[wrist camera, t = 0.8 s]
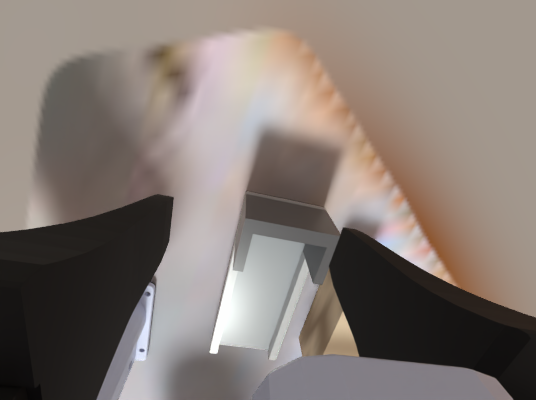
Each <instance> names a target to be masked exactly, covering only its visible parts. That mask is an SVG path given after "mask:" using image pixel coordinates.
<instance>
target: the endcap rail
mask: <svg viewBox="0 0 536 400" xmlns="http://www.w3.org/2000/svg"><path fill="white" fill-rule="evenodd" d="M340 235H341V234H340V233H339V231H338V229H337V228H336V226H335V224H334V223H333V221H332V219H331V218H330V216H329V214H328V213H327V211H326V209H325V208H324V207H321V206H316V205H312V204H307V203H302V202H297V201H292V200H288V199H283V198H278V197H273V196H268V195H264V194H259V193H254V192H249V191H246V194H245V198H244V202H243V207H242V211H241V215H240V219H239V224H238V228H237V232H236V237H235V241H234V245H233V249H232V254H231V258H230V262H229V266H228V271H227V275H226V279H225V283H224V288H223V292H222V296H221V301H220V305H219V309H218V313H217V318H216V322H215V326H214V330H213V335H212V339H211V346H210V353H214V354H217V352H218V348H219V345H227V346H236V347H244V348H253V349H261V350H268V359H269V360H276V358H277V355H278V353H279V350H280V347H281V345H282V342H283V339H284V337H285V334H286V331H287V328H288V326H289V323H290V320H291V318H292V315H293V312H294V310H295V307H296V304H297V302H298V299H299V296H300V294H301V291H302V288H303V286H304V283H305V280H306V278H307V275H308V272H310V275H311V278H312V281H313V283H314V284H321V285H323V282H324V280H325V277H326V275H327V272H328V270H329V264H330V261H331V259H332V256H333V253H334V251H335V248H336V245H337V243H338V240H339V237H340Z"/></svg>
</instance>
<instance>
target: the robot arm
mask: <svg viewBox="0 0 536 400" xmlns="http://www.w3.org/2000/svg"><path fill="white" fill-rule="evenodd" d="M173 199H174V197H170V196H164V195H159V194H157V195H153V196H150V197H148V198H145V199H143V200H140V201H137V202H135V203H132V204H130V205H127V206H124V207H122V208H119V209H116V210H112V211H109V212H106V213H103V214H100V215H97V216H94V217H90V218H86V219H82V220H78V221H73V222H69V223H64V224H58V225H52V226H46V227H40V228H34V229H27V230H19V231H10V232H0V400H118V399H119V397H120V394H121V392H122V389H123V387H124V384H125V382H126V380H127V377H128V375H129V372H130V370H131V368H132V365H133V363H134V360H139V361H143V360H145V359H146V358H147V355H148V347H149V338H150V329H151V321H152V312H153V303H154V295H155V285H154V284H153V283H150V281H151V279H152V277H153V275H154V274H155V272H156V270H157V268H158V266H159V265H160V263H161V261H162V258H163V256H164V253H165V251H166V248H167V245H168V243H169V237H170V228H171V218H172V209H173ZM329 270H330V274H331V279H332V283H333V287H334V289H335V292H336V295H337V297H338V300H339V302H340V305H341V307H342V310H343V312H344V315H345V317H346V320H347V322H348V325H349V327H350V330H351V332H352V335H353V338H354V341H355V343H356V347H357V350H358V354H359V357H357V356H347V355H337V354H327V355H316V356H304V357H299V358H297V359H295V360H293V361H291V362H289V363H287V364H285V365H283V366H281V367H279V368H277V369H274V370H273V371H272V372H270V373H269V374H268V376H267V377H266V378H265V380H264V381H263V382H262V383H261V385H260V386H259V387H258V389H257V390H256V391H255V393H254V394H253V395H252V398H251V400H536V318H535V317H532V316H528V315H526V314H523V313H520V312H517V311H515V310H512V309H509V308H506V307H504V306H501V305H498V304H496V303H493V302H491V301H488V300H486V299H483V298H481V297H478V296H476V295H474V294H471V293H469V292H467V291H465V290H462V289H460V288H458V287H456V286H454V285H452V284H449V283H447V282H445V281H443V280H442V279H440V278H438V277H436V276H434V275H432V274H430V273H428V272H426V271H424V270H423V269H421V268H419V267H417V266H416V265H414V264H412V263H411V262H409V261H407V260H406V259H404V258H402V257H401V256H399V255H398V254H396V253H394V252H393V251H391V250H390V249H388V248H387V247H385V246H384V245H382V244H381V243H379V242H377V241H376V240H374V239H373V238H371V237H369V236H368V235H366V234H364V233H362V232H360V231H358V230H355V229H349V228H343V229H342V232H341V235H340V237H339V240H338V243H337V245H336V248H335V251H334V253H333V256H332V259H331V261H330V264H329ZM147 292H149V293H147Z"/></svg>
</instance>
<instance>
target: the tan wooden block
mask: <svg viewBox="0 0 536 400" xmlns="http://www.w3.org/2000/svg"><path fill="white" fill-rule="evenodd" d="M299 341H300V346H301V352H302V357H304V356H316V355H327V354H337V355H347V356H357V357H359V354H358V350H357V347H356V343H355V341H354V338H353V335H352V332H351V330H350V327H349V325H348V322H347V320H346V317H345V315H344V312H343V310H342V307H341V305H340V302H339V300H338V297H337V295H336V292H335V289H334V287H333V283H332V279H331V274H330V270H328V272H327V275H326V277H325V280H324V282H323V285H321V284H320V286H319V288H318V291H317V293H316V296H315V298H314V301H313V303H312V306H311V308H310V311H309V313H308V316H307V318H306V321H305V323H304V326H303V328H302V331H301V333H300V336H299Z"/></svg>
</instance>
